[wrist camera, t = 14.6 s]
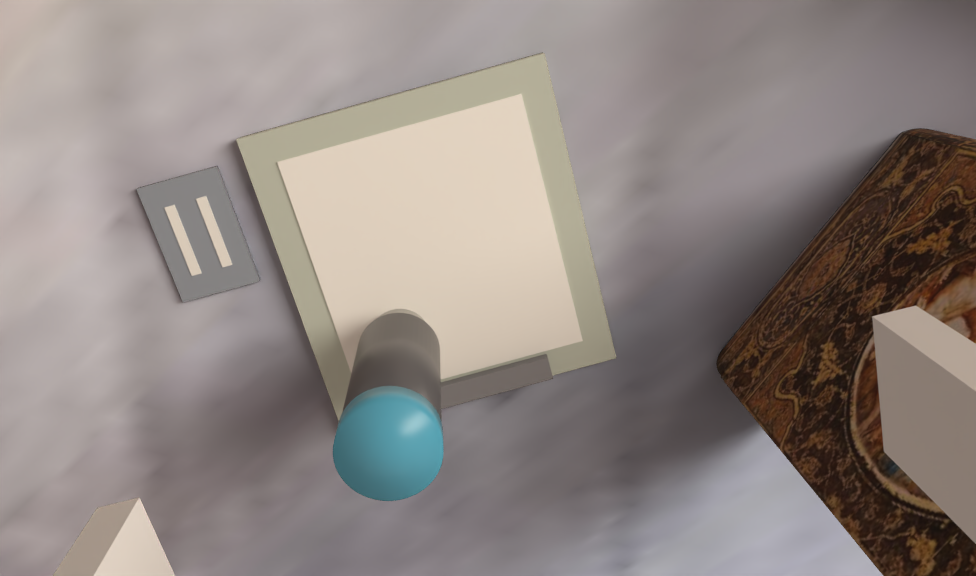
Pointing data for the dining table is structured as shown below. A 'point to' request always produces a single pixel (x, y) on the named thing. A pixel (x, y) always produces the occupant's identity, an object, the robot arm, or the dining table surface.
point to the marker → (392, 410)
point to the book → (866, 346)
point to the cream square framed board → (438, 229)
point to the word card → (199, 234)
